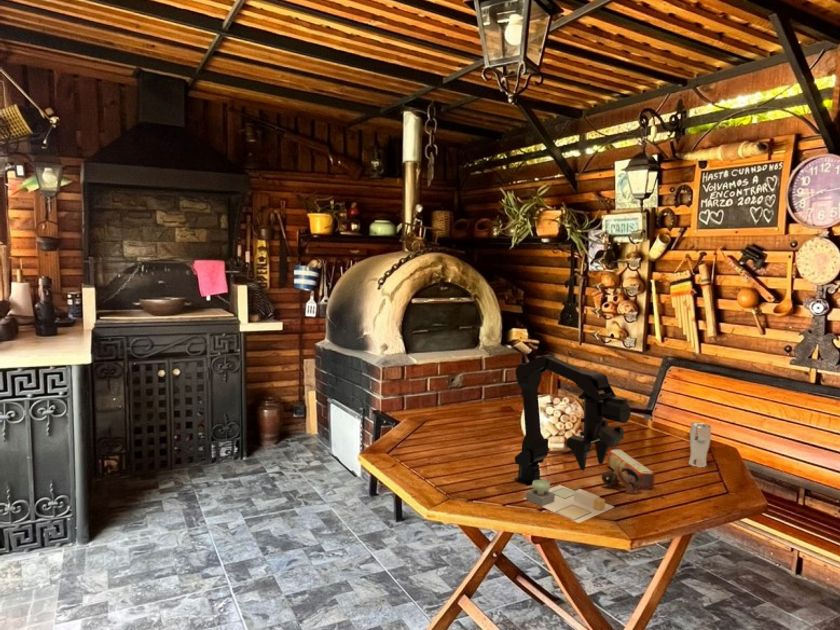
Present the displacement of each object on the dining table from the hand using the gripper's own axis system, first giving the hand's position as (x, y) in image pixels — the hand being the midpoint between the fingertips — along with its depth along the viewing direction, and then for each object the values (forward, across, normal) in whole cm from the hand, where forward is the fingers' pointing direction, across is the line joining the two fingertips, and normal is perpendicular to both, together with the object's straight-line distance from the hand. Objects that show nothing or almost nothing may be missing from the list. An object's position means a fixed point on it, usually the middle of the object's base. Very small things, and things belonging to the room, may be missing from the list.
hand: (591, 466), depth 175 cm
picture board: (+12, -4, +5) cm, 14 cm away
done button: (+10, -10, +11) cm, 18 cm away
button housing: (+12, -10, +11) cm, 19 cm away
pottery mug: (+13, +19, +2) cm, 23 cm away
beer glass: (+13, +65, -2) cm, 66 cm away
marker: (+12, 0, 0) cm, 12 cm away
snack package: (+13, +32, +6) cm, 35 cm away
